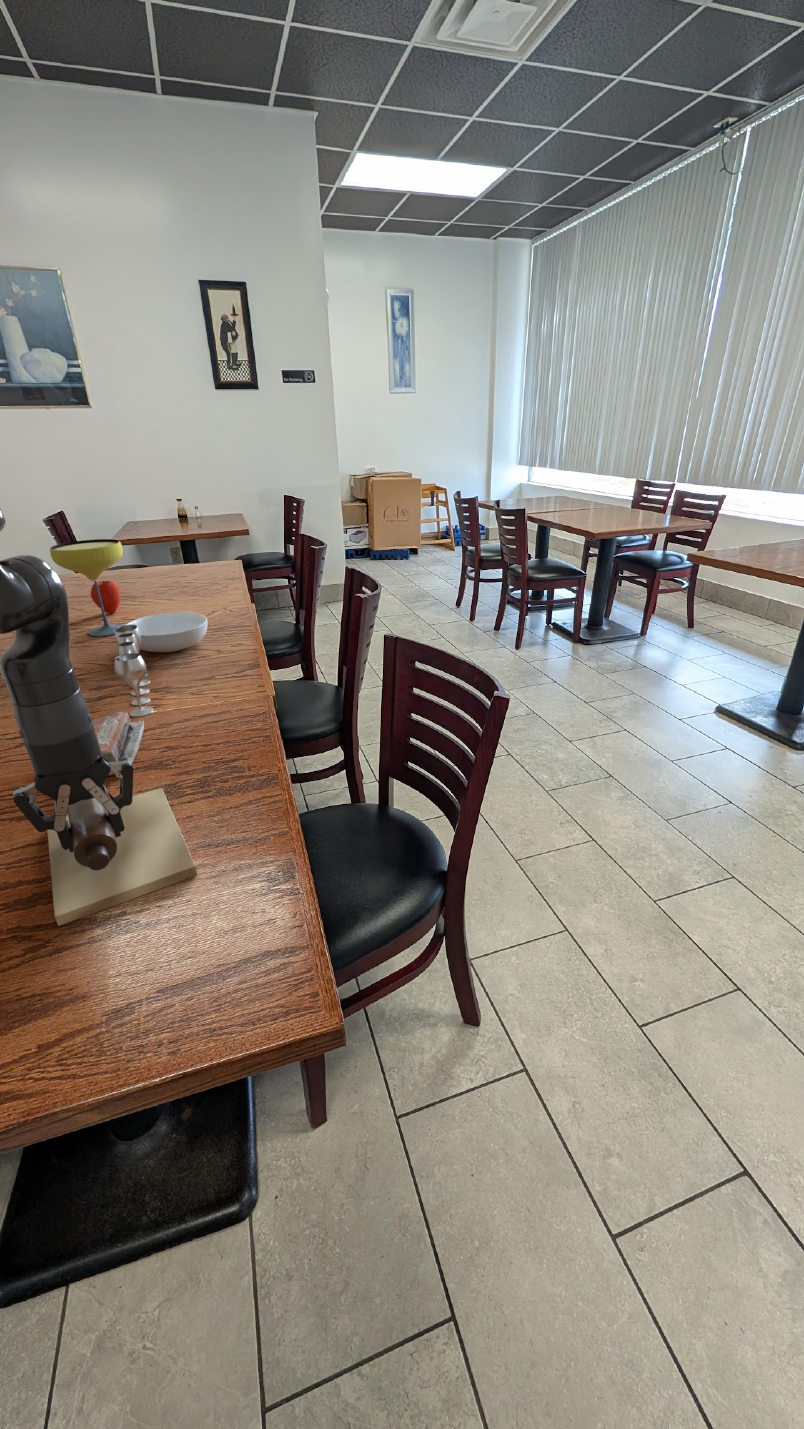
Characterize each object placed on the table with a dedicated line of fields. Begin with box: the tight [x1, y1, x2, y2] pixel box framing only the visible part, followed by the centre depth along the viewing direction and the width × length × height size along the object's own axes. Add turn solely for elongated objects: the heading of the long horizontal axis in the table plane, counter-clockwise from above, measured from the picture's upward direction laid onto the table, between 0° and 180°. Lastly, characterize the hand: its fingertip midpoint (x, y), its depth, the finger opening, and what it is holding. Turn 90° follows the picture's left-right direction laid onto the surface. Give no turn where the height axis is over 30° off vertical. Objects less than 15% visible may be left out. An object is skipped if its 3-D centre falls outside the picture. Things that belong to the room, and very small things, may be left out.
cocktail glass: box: [49, 538, 124, 638], centre depth 168 cm, size 18×18×25 cm
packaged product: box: [92, 711, 145, 777], centre depth 104 cm, size 18×5×10 cm
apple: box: [90, 580, 121, 614], centre depth 188 cm, size 9×8×11 cm
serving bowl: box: [125, 611, 208, 653], centre depth 157 cm, size 21×21×7 cm
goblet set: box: [114, 624, 154, 718], centre depth 127 cm, size 28×6×13 cm, turn 23°
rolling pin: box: [67, 798, 117, 870], centre depth 77 cm, size 16×5×5 cm, turn 31°
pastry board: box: [46, 787, 198, 927], centre depth 80 cm, size 16×22×2 cm
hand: (95, 840), depth 78 cm, fingers closed on rolling pin, 5 cm apart
